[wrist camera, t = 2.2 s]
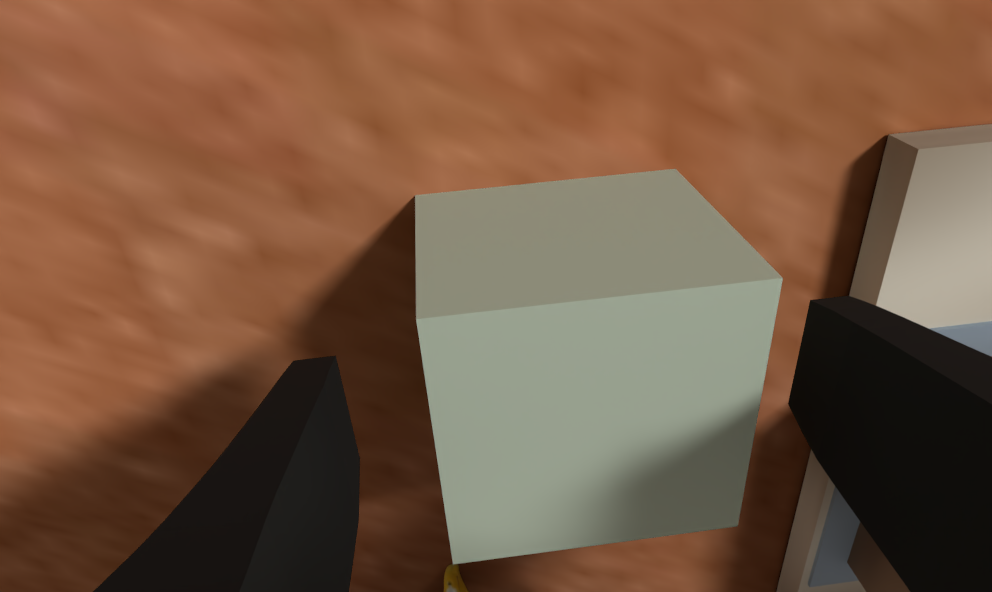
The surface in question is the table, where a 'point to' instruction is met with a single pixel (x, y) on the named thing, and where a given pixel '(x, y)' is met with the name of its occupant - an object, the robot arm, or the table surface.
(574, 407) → the green block
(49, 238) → the table surface
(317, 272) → the table surface
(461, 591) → the eagle figurine
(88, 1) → the table surface
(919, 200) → the build plate
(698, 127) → the table surface
